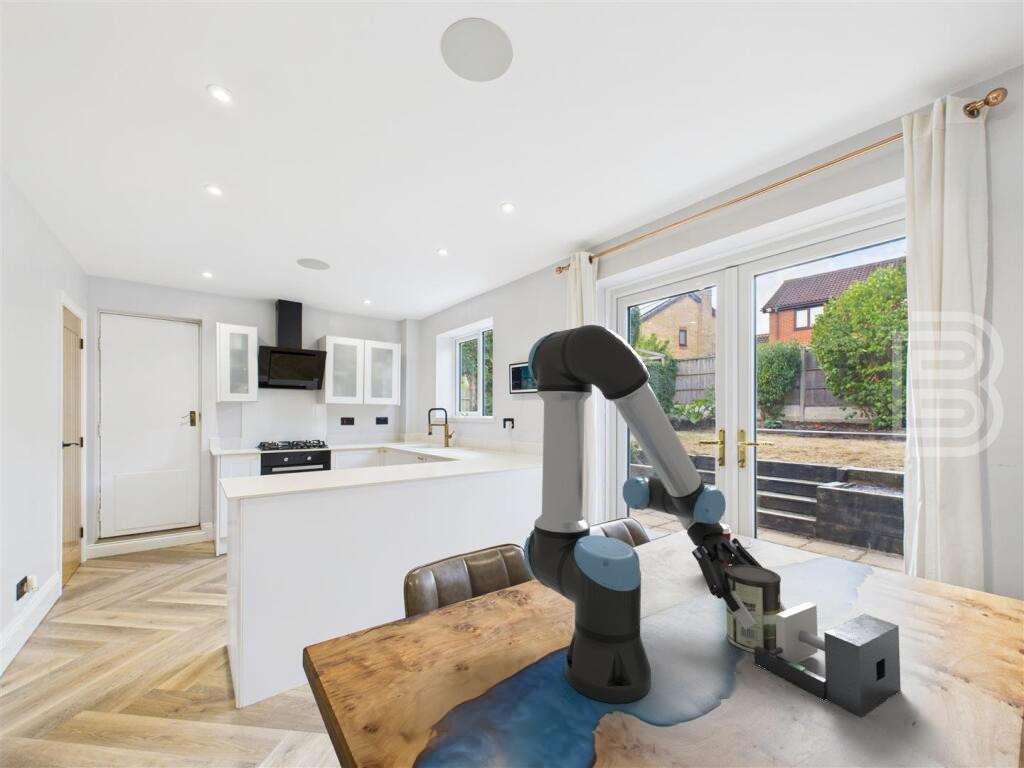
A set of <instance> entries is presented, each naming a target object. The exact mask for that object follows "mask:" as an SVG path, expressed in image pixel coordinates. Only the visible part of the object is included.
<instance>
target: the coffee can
mask: <svg viewBox="0 0 1024 768" xmlns="http://www.w3.org/2000/svg"><path fill="white" fill-rule="evenodd" d="M762 567H763V566H762ZM762 567H757V566H752V565H742V564H737V565H730V564H729V566H727V567H726V568H725V572H726V575H727V579H728V582H729V586H730V590H731V591H730V593H731V592H732V591H735V592H736V594H737V595H738V597H739V598H740V599H741V601H742V602H743V604H744V605H745V607H746V608H747V610H748V611H749V613H750V614H751V616H752V617H753V619H754V620H755V622H756V624H755V625H753V626H751V627H750V628H748V629H746V630H745V629H744V627H743V626H742V624H741V623H740V621H739V620H738V618H737V617H736V615H735V614H734V612H732V611H731V609H730V608H729V606H728V605H727V603H726V602H725V604H726V605H725V607H726V609H725V610H726V638H727V640H728V642H729V643H730V644H732V645H734V646H736V647H737V648H739V649H740V650H743V651H747V652H749V653H752V652H753V654H754V648H755V647H757V646H759V647H761V648H763V649H765V650H767V651H771V650H773V649H776V648H777V645H776V614H778V613H780V612H781V604H780V603H782V602H780V601H781V581H782V579H781V575H780V574H778V573H776V572H775V571H773V570H771V569H769V568H764V567H763V568H762Z"/></svg>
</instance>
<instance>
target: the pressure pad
mask: <svg viewBox="0 0 1024 768" xmlns="http://www.w3.org/2000/svg"><path fill="white" fill-rule="evenodd" d="M776 645H777V648H776V649H773V650H771V651H769V654H770V655H771V656H776V655H777V656H779V657H781V658H783V659H786V660H788V661H790V662H794V663H796V664H798V662H801V661H803V660H805V659H807V658H810V656H812V655H815V654H817V653H819V651H818V650H820V651H822V652H824V653H825V638H823V637H820V636H818V608H817V604H814V603H811V602H809V601H807V602H804V603H802V604H799V605H796V606H794V607H791V608H788V609H786V611H783V612H780V613H778V614H776Z"/></svg>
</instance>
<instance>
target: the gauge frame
mask: <svg viewBox="0 0 1024 768" xmlns="http://www.w3.org/2000/svg"><path fill="white" fill-rule="evenodd" d="M899 628H900V627H899V625H898V624H895V623H892V622H889V621H887V620H884V619H880V618H877V617H875V616H872V615H869V614H866V613H864V614H861V615H859V616H857V617H855V618H853V619H850V620H848V621H845V622H843V623H841V624H839V625H837V626H835V627H833V628H831V629H828V630H826V631H824V633H823V634H824V639H825V652H824V666H825V668H824V670H825V671H824V673H825V675H824V676H825V678H824V677H823V676H820V675H818V674H816V673H814V672H811V671H809V669H808V670H807V667H804V666H802V665H800V664H798V663H794V662H790V661H788V660H786V659H783V658H781V657H779V656H777V655H776V656H771V655H770V654H769V651H767V650H765V649H763V648H761V647H759V646H757V647H755V648H754V653H753V654H754V665H756V664H757V665H756V666H758V665H760V666H761V667H763V668H765V669H766V670H765V669H764V670H765V671H767V670H768V671H767V672H769V671H770V672H769V673H771V674H773V675H775V676H777V677H778V676H779V677H778V678H780V679H782V680H784V681H786V682H788V683H790V684H792V685H794V686H796V687H798V688H799V689H801V690H804V691H805V692H807V693H808V694H810V693H811V694H810V695H812V694H813V696H814V695H815V696H814V697H816V696H817V697H816V698H818V697H819V698H818V699H820V698H821V699H820V700H822V699H823V700H822V701H824V700H825V701H828V702H830V703H832V704H833V703H834V705H835V704H836V706H837V707H839V708H842V709H843V710H845V711H847V712H849V713H851V714H853V715H854V716H857V717H858V718H861V719H862V718H864V717H865V716H866V715H868V714H869V713H871V712H872V711H873V710H875V709H876V707H877V708H878V707H880V706H881V705H882V704H884V703H885V702H887V701H888V700H889V699H888V698H890V697H891V698H892V696H893V695H894V696H896V695H897V694H899V693H900V692H901V691H902V690H901V689H902V688H901V661H900V659H901V657H900V634H899V633H900V629H899ZM760 666H759V667H760ZM761 667H760V668H761ZM763 668H762V669H763ZM899 691H900V692H899ZM896 693H897V694H896ZM894 696H893V697H894ZM891 698H890V699H891ZM826 699H827V700H826ZM887 699H888V700H887ZM886 700H887V701H886ZM883 702H884V703H883ZM880 704H881V705H880Z"/></svg>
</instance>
